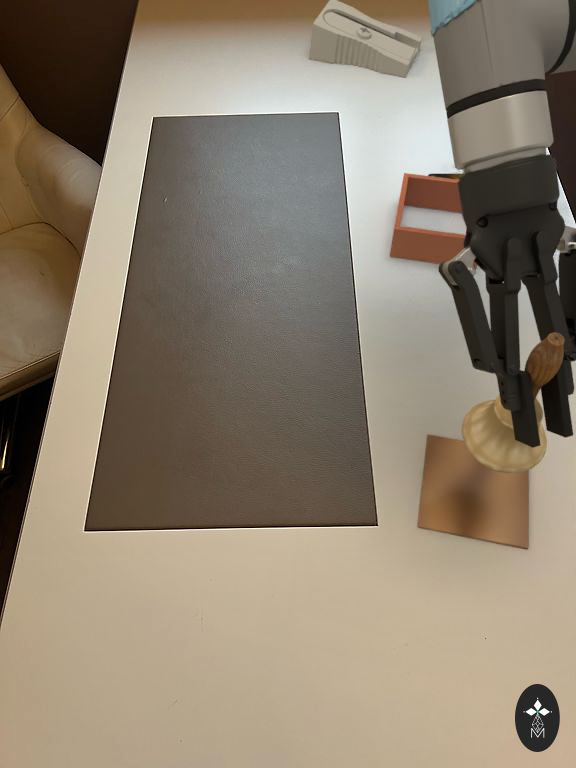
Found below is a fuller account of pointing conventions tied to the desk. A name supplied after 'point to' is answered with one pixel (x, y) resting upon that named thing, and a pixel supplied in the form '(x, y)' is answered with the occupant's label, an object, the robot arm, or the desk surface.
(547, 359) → the hand bell
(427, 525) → the copper plate
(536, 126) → the robot arm
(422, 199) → the open box
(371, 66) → the wedge sharpener
